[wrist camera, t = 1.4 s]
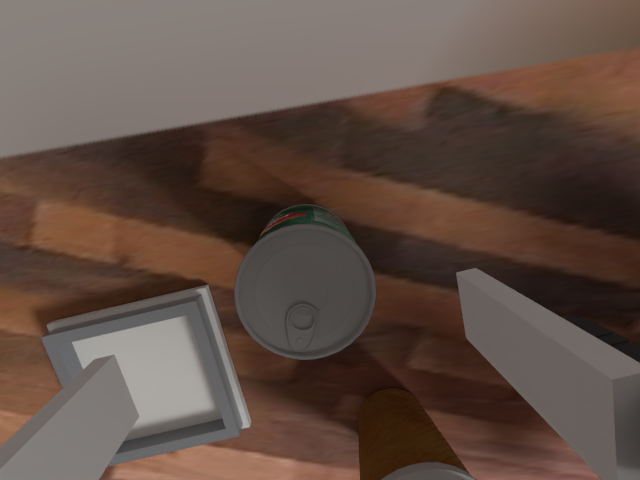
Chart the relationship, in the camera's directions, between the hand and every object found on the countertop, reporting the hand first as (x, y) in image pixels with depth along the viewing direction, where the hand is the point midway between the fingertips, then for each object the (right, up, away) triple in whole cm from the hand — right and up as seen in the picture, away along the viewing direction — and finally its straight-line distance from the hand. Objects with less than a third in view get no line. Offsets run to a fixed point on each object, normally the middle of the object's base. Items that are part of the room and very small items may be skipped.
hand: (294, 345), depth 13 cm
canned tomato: (0, +3, +17) cm, 17 cm away
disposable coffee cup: (+8, -13, +21) cm, 26 cm away
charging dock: (-14, -8, +18) cm, 25 cm away
